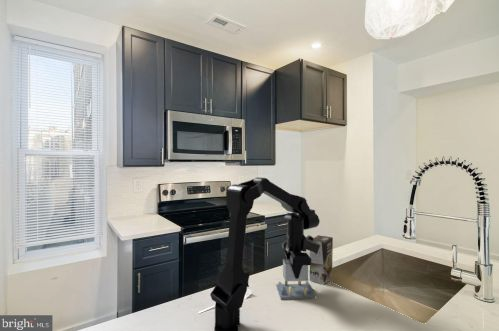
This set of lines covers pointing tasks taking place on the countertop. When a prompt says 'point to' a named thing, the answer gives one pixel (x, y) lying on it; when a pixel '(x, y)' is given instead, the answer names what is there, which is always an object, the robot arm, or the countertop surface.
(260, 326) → the countertop surface
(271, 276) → the countertop surface
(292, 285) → the tray
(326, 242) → the coffee box
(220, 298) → the robot arm
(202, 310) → the fork
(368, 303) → the countertop surface
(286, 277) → the block
